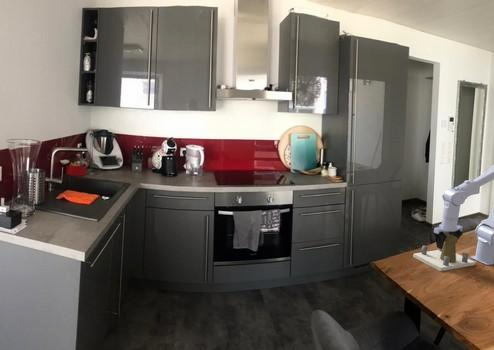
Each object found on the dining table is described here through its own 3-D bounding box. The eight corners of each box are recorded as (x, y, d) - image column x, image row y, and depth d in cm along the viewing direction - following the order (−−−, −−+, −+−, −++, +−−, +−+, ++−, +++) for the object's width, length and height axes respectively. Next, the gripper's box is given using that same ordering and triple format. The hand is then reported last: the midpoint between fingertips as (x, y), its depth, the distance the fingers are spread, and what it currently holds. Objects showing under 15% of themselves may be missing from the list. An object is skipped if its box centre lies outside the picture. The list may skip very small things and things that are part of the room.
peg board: (445, 251, 155) (447, 241, 154) (474, 265, 142) (476, 254, 141) (413, 256, 148) (414, 246, 147) (440, 271, 135) (442, 259, 134)
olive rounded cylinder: (458, 263, 139) (462, 238, 137) (443, 262, 140) (446, 237, 138) (452, 257, 145) (455, 233, 143) (437, 256, 146) (440, 232, 144)
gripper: (454, 213, 147) (449, 241, 150) (429, 215, 142) (425, 245, 145) (469, 218, 141) (463, 248, 143) (444, 221, 136) (439, 251, 138)
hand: (445, 247), depth 144 cm, fingers open, 7 cm apart
